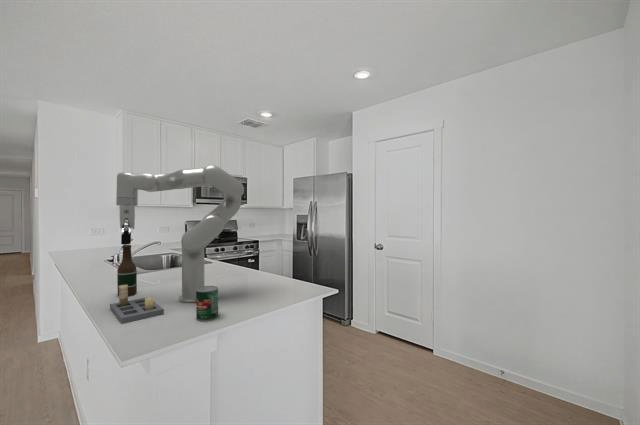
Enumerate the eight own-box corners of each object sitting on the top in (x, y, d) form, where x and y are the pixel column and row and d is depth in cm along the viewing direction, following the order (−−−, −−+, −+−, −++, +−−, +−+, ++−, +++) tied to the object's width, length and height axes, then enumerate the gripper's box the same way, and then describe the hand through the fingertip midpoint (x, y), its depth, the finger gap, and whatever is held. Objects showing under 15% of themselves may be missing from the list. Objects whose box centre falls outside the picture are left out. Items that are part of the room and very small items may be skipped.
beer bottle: (140, 293, 145) (140, 244, 144) (125, 298, 137) (125, 246, 137) (128, 292, 147) (128, 243, 147) (113, 296, 140) (112, 245, 139)
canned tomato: (220, 313, 117) (220, 285, 117) (216, 320, 109) (216, 290, 109) (199, 314, 116) (199, 286, 116) (193, 321, 108) (193, 291, 108)
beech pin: (128, 309, 121) (128, 285, 121) (120, 311, 119) (119, 286, 119) (127, 308, 123) (126, 284, 123) (118, 309, 121) (118, 285, 121)
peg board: (163, 314, 116) (163, 298, 116) (121, 323, 106) (121, 307, 106) (148, 301, 132) (148, 288, 132) (110, 309, 122) (109, 294, 122)
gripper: (137, 202, 120) (136, 244, 120) (137, 202, 134) (136, 240, 134) (115, 201, 116) (114, 245, 116) (117, 202, 130) (116, 241, 130)
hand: (126, 242), depth 125 cm, fingers open, 9 cm apart
